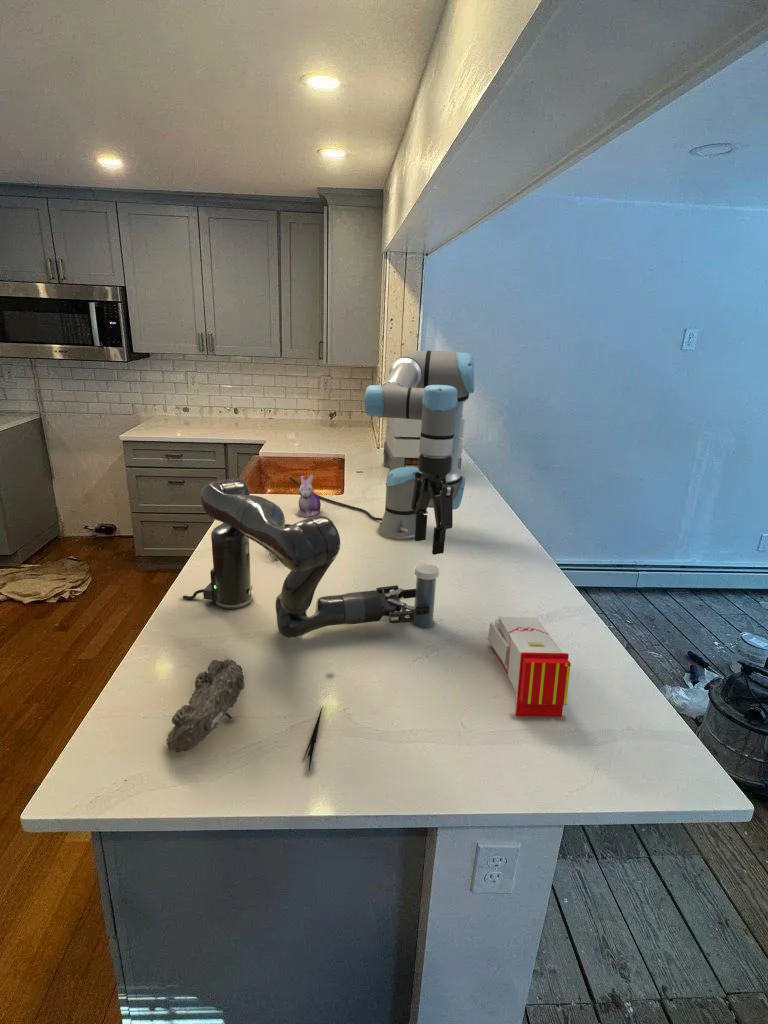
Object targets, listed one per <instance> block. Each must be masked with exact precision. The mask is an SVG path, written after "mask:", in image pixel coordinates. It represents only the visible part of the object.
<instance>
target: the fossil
mask: <svg viewBox="0 0 768 1024" xmlns="http://www.w3.org/2000/svg"><path fill="white" fill-rule="evenodd" d="M243 670H244V669H243V667H242V665H240V664H237V662H236V661H235V660H234V659H232V658H231V659H227V658H226V659H224V660H223V661H222V660H217V659H212V660H211V661H210V663H209V665H208V666H207V671H201V672H199V673H198V674H197V675H196V676H195V680H194V684H195V685H194V687H195V689H194V690H193V693H192V694H191V697H190V698H189V700H188V704H184V705H182V706H181V707H180V709H177V710H176V711H175V713H174V715H173V716H172V718H171V723H172V724H173V727H172V730H171V731H170V732H168V734H167V738H166V741H167V742H166V745H167V749H168V750H169V751H173V752H174V753H176V754H178V753H182V752H188V751H189V752H192V751H193V750H195V748H196V747H197V746H199V744H200V743H201V742H203V741H204V740H205V739H206V738H207V737H208V736H209V735H210V734H211V733H212V732H214V730H215V729H217V727H218V726H219V724H220V722H221V721H222V720H223V719H224V718H225V716H226V717H227V719H229V720H233V717H232V715H230V714H229V710H230V709H231V708H234V706H235V704H236V703H237V702H238V699H239V697H240V695H241V693H242V691H243V690H245V689H244V688H245V675H244V671H243Z"/></svg>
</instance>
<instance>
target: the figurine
mask: <svg viewBox="0 0 768 1024" xmlns="http://www.w3.org/2000/svg"><path fill="white" fill-rule="evenodd" d="M313 480H314V475H313V474H310V475H309V476H308V477H307V479H306V477H305V475H304V474H302V475H301V476H300V485H301V486H300V487H298V495H299V499H298V508H299V509H298V515H299V517H303V518H310V517H314V516H318V515H320V513H321V507H322V505H321V499H320V498H319V497H318V496H317V495H318V494H317V493H315V492H314V488H313V486H312V483H313Z"/></svg>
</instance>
